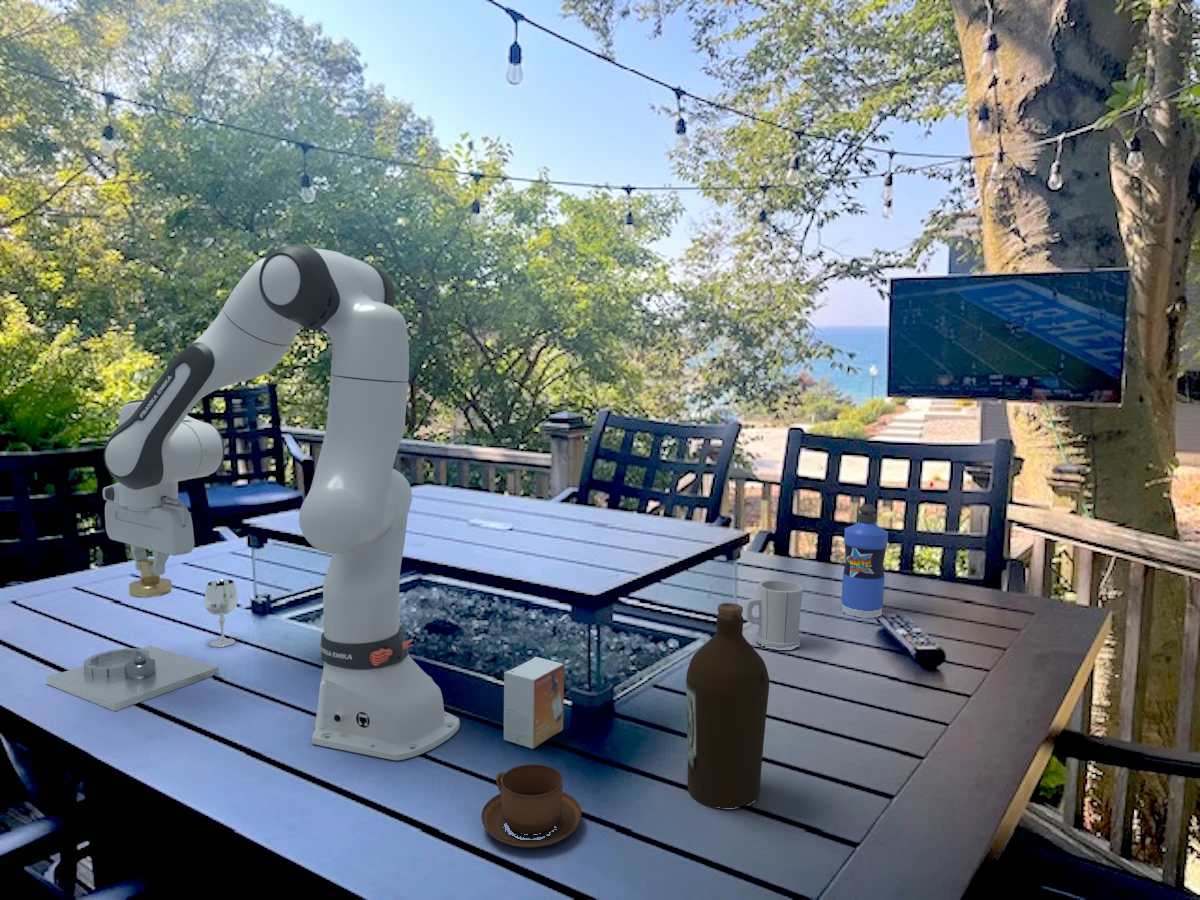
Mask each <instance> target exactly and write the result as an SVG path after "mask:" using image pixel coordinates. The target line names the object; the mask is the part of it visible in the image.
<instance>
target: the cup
mask: <svg viewBox="0 0 1200 900" xmlns="http://www.w3.org/2000/svg"><path fill="white" fill-rule="evenodd" d="M757 592H758V595H757V597H750V598H747V599H746V601H745V602H744V604H745V605H744V608H745V609H744V610H745V612H744V613H745V619H746V620H747V621H748V622H749V623H751V624H752V625H758V632H757V633H756V635H755V642H756V643H757V642H758V643H759V644H761V645H764V646H767V647H776V648H786V647H792V646H795V645H798V644H799V643H800V641H801V640H802V639H801V636H800V635H799V633H800V624H801V623H800V622H801V621H800V620H801V611H802V610H801V609H802V602H803V595H804V587H803V585H802V584H799V583H797V582H794V581H789V580H781V579H780V580H779V579H771V580H770V579H769V580H761V582H759V583H758V584H757ZM756 606H758V617H755V616H754V615H753V614H752V613H753V612H752V611H753V610H752V609H754V607H756ZM758 643H757V644H758ZM759 644H758V645H759ZM761 645H760V646H761Z"/></svg>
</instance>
